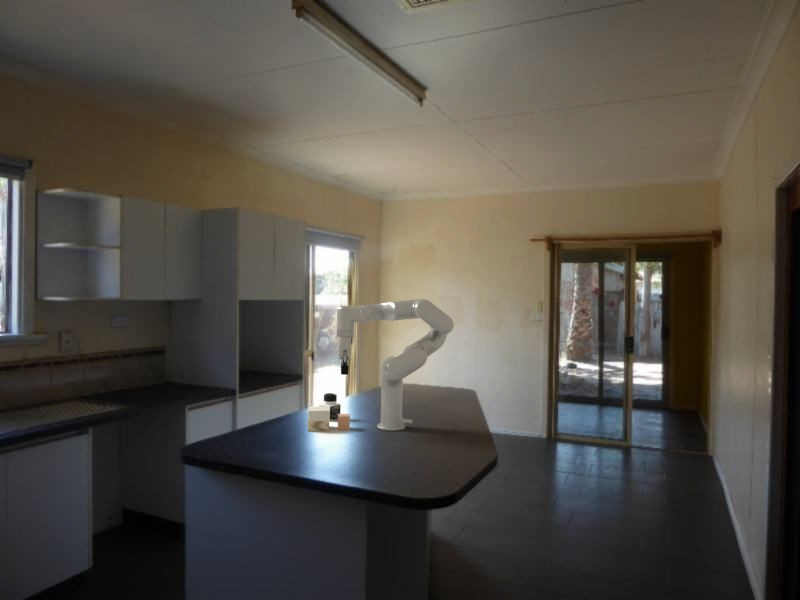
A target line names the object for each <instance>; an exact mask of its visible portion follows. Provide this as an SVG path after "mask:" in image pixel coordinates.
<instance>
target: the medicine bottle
mask: <svg viewBox="0 0 800 600" xmlns="http://www.w3.org/2000/svg"><path fill="white" fill-rule="evenodd" d="M337 397H338V396H337V394H336V393H335V392H334V393H333V392H332V393H331V392H329V393H328V392H327V393H325V394H324V395H323V403H320V404H319V407H330V421H329V422H332V421H333V422H334V421H338V414H341V403H337V400H338V398H337Z"/></svg>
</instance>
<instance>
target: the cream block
mask: <svg viewBox="0 0 800 600" xmlns="http://www.w3.org/2000/svg"><path fill="white" fill-rule="evenodd" d="M307 417H308V419H307V422H308V421H329V422H331V421H330V407H320V406H308V416H307Z"/></svg>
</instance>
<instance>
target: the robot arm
mask: <svg viewBox="0 0 800 600" xmlns="http://www.w3.org/2000/svg"><path fill="white" fill-rule="evenodd" d="M413 319H414V320H415V319H421V320H422V321H423V322H424V323H426V324H427V325H428V326H429V331H428V333H427V334H425V335H424V336H422V337H420V338H419V339H418V340H416V341H415V342H413V343H411V344H409V345H408V346H406V347H405V348H404V349H403V351H402V353H400V354H399V355H397V356H393V355H392V356H388V357H386V358H385V359H383V361H382V363H381V365H380V377H381V379H380V380H381V388H380V391H381V392H380V422H379V423H377V425H376V428H377V429H379V430H382V431H388V432H389V431H391V432H392V431H393V432H396V431H402V430H405V429H406V425H413V419H409V418H404V417H403V393H404V391H403V389H404V388H403V387H404V382H403V381H404V379H405V378H407V377H408V376H410V375H412V374H413V373H415V372H416V371H418V370H419V369H421V368H422V367H423V366H424V365H425V364H426V363H427V360H428V357H430V356H431V355H433V354H434V353H436V352H437V351H438V350H439V349H441V348H442V347H443V345H444V344H445V343H446V340H447V336H448V334H450V333H451V332H452V331H453V329H454V324H455V323H454V320H453V318H452V317H451V316H449V315H448V314H447V313H446V312H444V311H443V310H441V308H439V307H438V306H437V305H435V304H434V303H433V302H431V301H430V300H428V299H426V298H424V299H423V298H416V299H406V300H395V301H388V302H382V303H373V304H363V305H362V304H361V305H358V306H353V305H352V306H351V305H339V306H338V307H337V309H336V338H338V353H337V354H338V355H337V356H338V360H339V361H340V360H341V362H340V375H341V376H343V375H348V376H349V371H350V370H349V366H350V365H349V360H351V359H350V358H351V351H352V350H351V349H352V348H351V347H352V338H353V339H354V338H355V323H361V324H365V323H368V322H372V321H403V320H413Z"/></svg>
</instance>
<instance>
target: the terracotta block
mask: <svg viewBox="0 0 800 600" xmlns="http://www.w3.org/2000/svg"><path fill="white" fill-rule="evenodd" d="M350 422H351V414H350V413H340V414H338V420H337V430H338V431H350V430H351V429H350V428H351V426H350V424H351V423H350Z"/></svg>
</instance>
